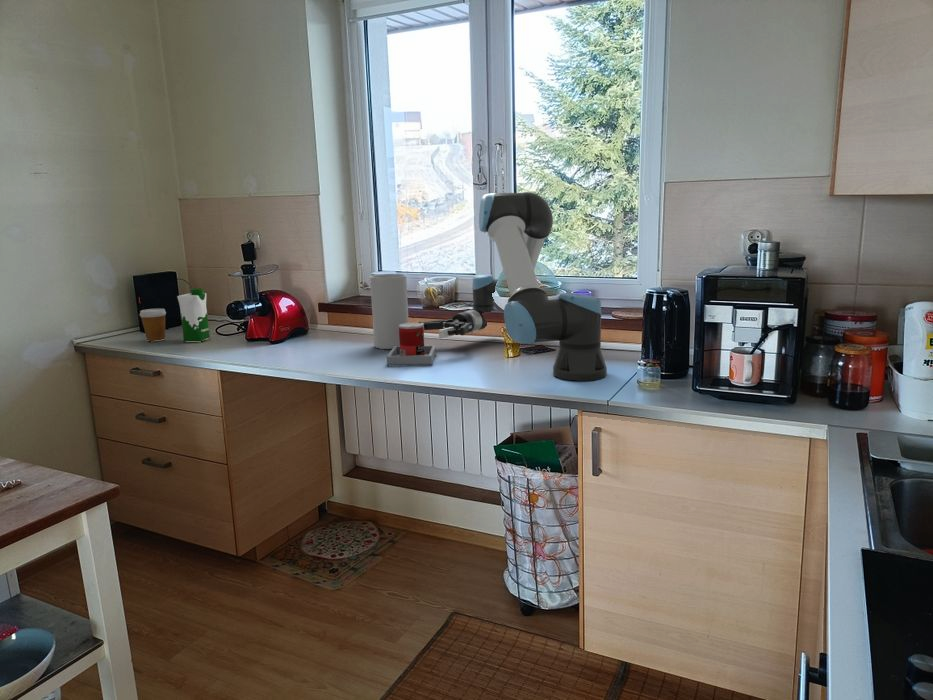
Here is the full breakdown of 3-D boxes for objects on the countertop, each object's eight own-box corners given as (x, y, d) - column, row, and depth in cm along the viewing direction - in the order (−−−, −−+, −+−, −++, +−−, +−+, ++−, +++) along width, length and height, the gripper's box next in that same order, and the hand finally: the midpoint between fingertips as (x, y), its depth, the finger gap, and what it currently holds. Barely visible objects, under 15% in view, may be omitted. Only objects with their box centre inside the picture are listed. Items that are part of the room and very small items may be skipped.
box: (431, 365, 215) (431, 355, 214) (387, 366, 216) (386, 356, 215) (436, 354, 231) (435, 345, 230) (394, 354, 231) (394, 346, 231)
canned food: (421, 361, 219) (420, 326, 216) (397, 360, 220) (395, 326, 218) (427, 355, 226) (426, 322, 224) (404, 355, 227) (402, 322, 225)
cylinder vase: (404, 350, 238) (401, 277, 233) (369, 350, 240) (365, 278, 235) (413, 342, 250) (410, 273, 245) (380, 342, 252) (376, 274, 247)
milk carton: (202, 343, 261) (196, 290, 256) (179, 343, 262) (173, 290, 258) (213, 338, 269) (208, 287, 265) (191, 338, 270) (186, 287, 266)
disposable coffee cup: (163, 342, 264) (159, 311, 261) (138, 343, 264) (134, 312, 261) (173, 338, 273) (170, 308, 270) (149, 338, 273) (146, 308, 271)
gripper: (494, 336, 235) (453, 347, 219) (440, 329, 251) (398, 339, 235) (494, 314, 233) (452, 324, 217) (439, 309, 249) (397, 317, 233)
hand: (424, 332), depth 226 cm, fingers open, 13 cm apart
